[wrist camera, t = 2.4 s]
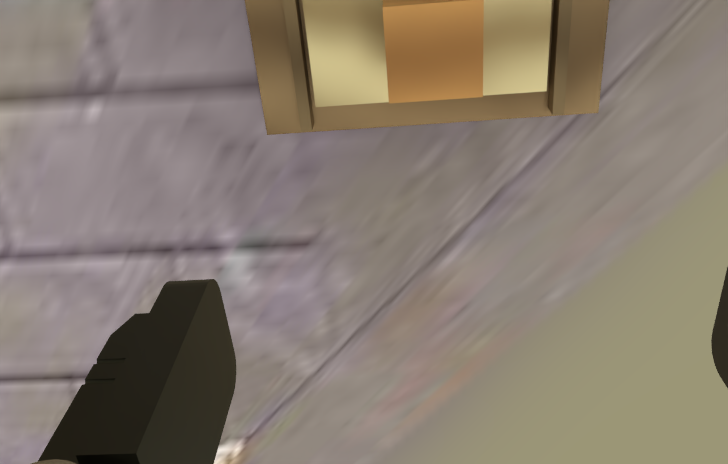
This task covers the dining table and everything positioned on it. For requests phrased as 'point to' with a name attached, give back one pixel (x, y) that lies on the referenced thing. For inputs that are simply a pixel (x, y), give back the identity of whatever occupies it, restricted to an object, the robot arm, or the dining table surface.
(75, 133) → the dining table surface
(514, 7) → the wooden block on base
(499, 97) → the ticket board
